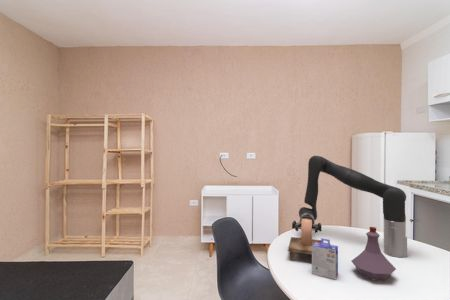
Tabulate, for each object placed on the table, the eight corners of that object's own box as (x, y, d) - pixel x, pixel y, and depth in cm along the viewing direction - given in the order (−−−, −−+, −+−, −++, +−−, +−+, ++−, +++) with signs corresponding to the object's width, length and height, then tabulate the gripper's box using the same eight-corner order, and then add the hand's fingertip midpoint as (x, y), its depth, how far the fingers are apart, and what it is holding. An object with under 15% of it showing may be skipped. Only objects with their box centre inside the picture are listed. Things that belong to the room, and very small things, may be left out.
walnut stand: (323, 252, 129) (323, 240, 129) (324, 265, 114) (324, 252, 114) (291, 248, 134) (291, 236, 134) (288, 260, 119) (288, 248, 119)
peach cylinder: (311, 242, 126) (312, 219, 126) (311, 246, 121) (311, 221, 121) (301, 241, 127) (301, 218, 127) (300, 245, 123) (301, 220, 123)
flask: (371, 263, 116) (371, 220, 116) (406, 281, 100) (406, 231, 100) (342, 269, 111) (342, 224, 111) (375, 288, 95) (375, 236, 95)
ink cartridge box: (338, 274, 106) (338, 240, 106) (336, 280, 101) (336, 244, 101) (314, 268, 111) (314, 236, 111) (311, 273, 107) (311, 240, 107)
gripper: (293, 213, 140) (291, 221, 125) (321, 215, 135) (321, 224, 120) (293, 226, 140) (291, 236, 125) (321, 229, 135) (321, 239, 120)
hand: (306, 230), depth 122 cm, fingers open, 8 cm apart
